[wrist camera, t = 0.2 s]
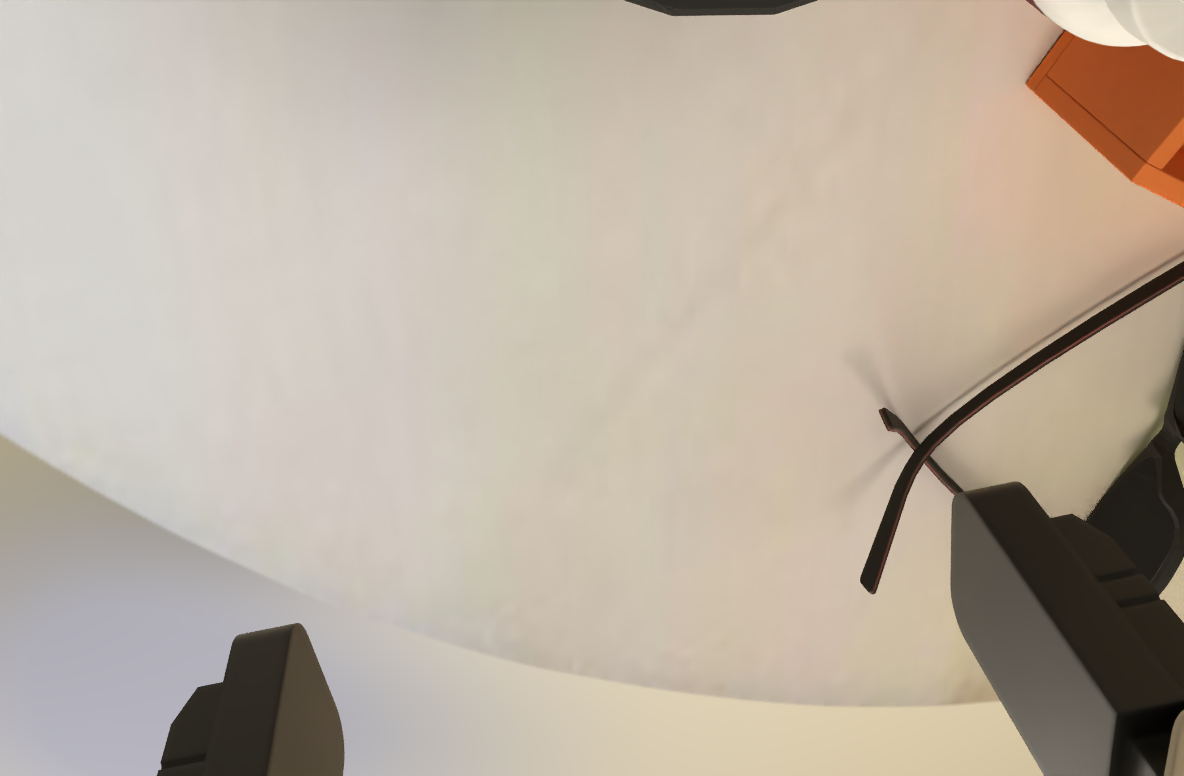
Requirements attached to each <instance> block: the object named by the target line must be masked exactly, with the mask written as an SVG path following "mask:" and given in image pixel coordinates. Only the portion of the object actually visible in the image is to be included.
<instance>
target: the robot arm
mask: <svg viewBox="0 0 1184 776" xmlns="http://www.w3.org/2000/svg"><path fill="white" fill-rule="evenodd" d="M951 597H952V603H953V608H954V612H955V616H956V619H957V622H958V625H959V627H960V630H961V632H962V634H963V636H964V638H965V640H966V642H967V644H968V645H969V647H970V649H971V651H972V652H973V654H974V656H975V657H976V659H977V661H978V663H979V664H980V666H981V668H982V670H983V671H984V673H985V675H986V676H987V678H988V680H989V682H990V683H991V685H992V687H993V688H994V690H995V692H996V694H997V695H998V697H999V699H1000V701H1001V702H1002V704H1003V706H1004V707H1005V709H1006V711H1007V713H1008V714H1009V716H1010V718H1011V719H1012V721H1013V723H1014V724H1015V726H1016V728H1017V730H1018V731H1019V733H1020V735H1021V736H1022V738H1023V740H1024V742H1025V744H1026V745H1027V747H1028V749H1029V750H1030V752H1031V754H1032V755H1033V757H1034V759H1035V761H1036V762H1037V764H1038V766H1039V768H1040V769H1041V771H1042V773H1043V774H1044V776H1184V623H1183V622H1182V620H1181V619H1180V618H1179V617H1178V616H1177V615H1176V613H1175V612H1174V611H1173V610H1172V609H1171V607H1170V606H1169V605H1168V604H1167V603H1166V601H1165V600H1160V598H1159V593H1158V592H1157V591H1156V590H1155V588H1154V587H1153V586H1152V585H1151V584H1150V582H1149V581H1148V580H1147V579H1146V578H1145V576H1144V575H1143V574H1141V575H1139V573H1138V569H1137V567H1136V566H1135V564H1134V563H1133V562H1132V561H1131V560H1130V559H1129V557H1128V556H1127V555H1126V554H1125V553H1124V551H1123V550H1122V549H1121V548H1120V547H1119V545H1118V544H1117V543H1116V542H1115V541H1114V539H1113V538H1112V537H1110V536H1109V535H1107V534H1105V533H1104V532H1102V531H1100V530H1099V529H1097V528H1095V527H1094V526H1092V525H1090V524H1089V523H1087V522H1085V521H1083V520H1082V519H1080V518H1078V517H1077V516H1075V515H1073V514H1069V515H1064V516H1059V517H1054V518H1050V517H1049V516H1048V515H1047V514H1046V512H1045V511H1044V510H1043V509H1042V507H1041V506H1040V505H1039V503H1038V502H1037V501H1036V500H1035V498H1034V497H1033V496H1032V494H1031V493H1030V492H1029V491H1028V489H1027V488H1026V487H1025V486H1024V485H1023V484H1021V483H1020V482H1010V483H1005V484H1000V485H995V486H990V487H985V488H980V489H975V490H970V491H965V492H960V493H957V494H956V495H955V496H954V498H953V502H952V525H951ZM161 766H162V768H161V770H159V771H158V774H157V776H343V769H344V740H343V732H342V726H341V721H340V717H339V713H338V710H337V707H336V705H335V702H334V700H333V697H332V695H331V692H330V690H329V687H328V685H327V682H326V680H325V677H324V675H323V672H322V670H321V667H320V665H319V662H318V659H317V657H316V654H315V652H314V649H313V647H312V644H311V642H310V639H309V637H308V635H307V633H306V630H305V629H304V627H303V626H302V625H301V624H300V623H295V624H290V625H285V626H280V627H275V628H270V629H265V630H260V631H255V632H250V633H246V634H241V635H238V636H236V637H235V639H234V641H233V643H232V646H231V651H230V655H229V659H228V663H227V668H226V672H225V676H224V681H223V682H221V683H216V684H211V685H206V686H201V687H198V688H197V689H196V691H195V692H194V694H193V695H192V696H191V698H190V699H189V700H188V702H187V703H186V704H185V706H184V707H183V709H182V710H181V712H180V713H179V714H178V716H177V717H176V719H175V720H174V721H173V723H172V724H171V727H170V731H169V734H168V738H167V742H166V745H165V749H164V752H163V756H162V760H161Z"/></svg>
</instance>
